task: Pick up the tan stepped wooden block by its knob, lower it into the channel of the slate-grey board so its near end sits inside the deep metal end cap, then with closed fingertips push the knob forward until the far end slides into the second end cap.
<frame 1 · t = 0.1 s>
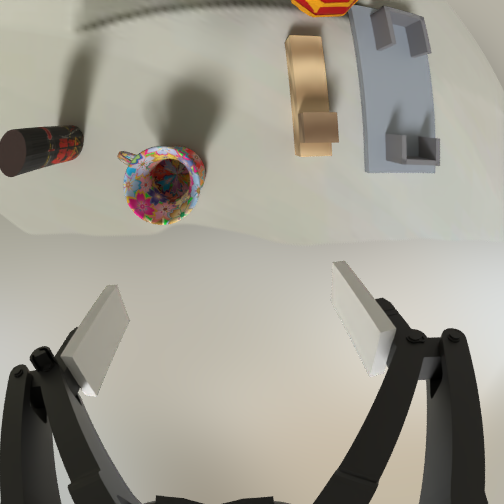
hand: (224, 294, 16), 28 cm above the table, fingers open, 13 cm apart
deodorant: (69, 143, 36), on the table
tan stepped wooden block: (305, 96, 37), on the table
board: (396, 87, 36), on the table
potion bottle: (311, 3, 30), on the table
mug: (170, 169, 40), on the table
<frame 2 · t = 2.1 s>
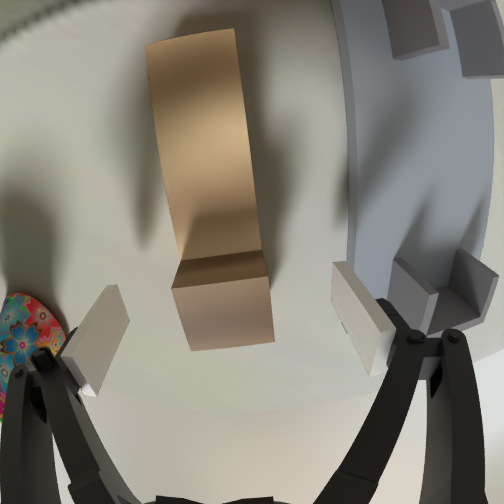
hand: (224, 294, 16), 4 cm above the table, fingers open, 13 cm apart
tan stepped wooden block: (215, 187, 18), on the table
board: (428, 146, 17), on the table
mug: (28, 316, 21), on the table
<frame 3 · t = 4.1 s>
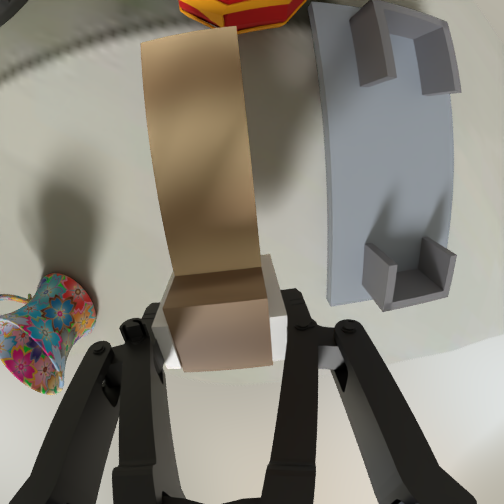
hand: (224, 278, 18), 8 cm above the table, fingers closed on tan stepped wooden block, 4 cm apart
tan stepped wooden block: (214, 197, 17), point 7 cm above the table, touching gripper
board: (393, 153, 23), on the table
potion bottle: (240, 9, 18), on the table
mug: (60, 295, 27), on the table
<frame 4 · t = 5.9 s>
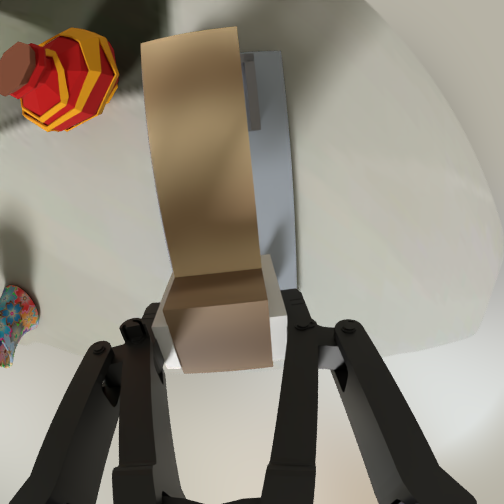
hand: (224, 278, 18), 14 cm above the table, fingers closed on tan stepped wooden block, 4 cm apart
tan stepped wooden block: (214, 198, 17), point 13 cm above the table, touching gripper
board: (224, 190, 30), on the table
potion bottle: (97, 86, 24), on the table
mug: (17, 299, 34), on the table
when the fingers open (2 cm above the table, at t = 8.2 s): tan stepped wooden block stays where it is, resting on board.
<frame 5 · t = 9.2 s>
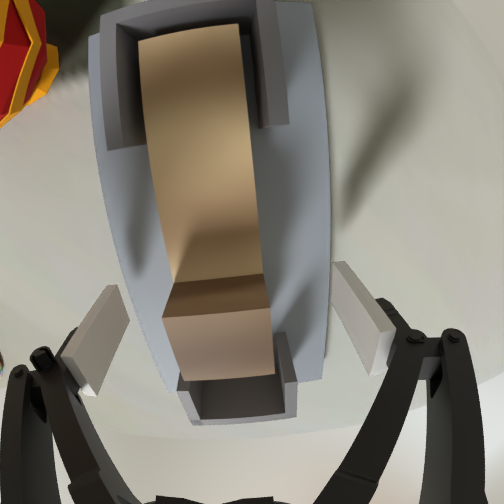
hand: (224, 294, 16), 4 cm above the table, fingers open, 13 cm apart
tan stepped wooden block: (214, 200, 16), point 1 cm above the table, touching board
board: (219, 226, 19), on the table
potion bottle: (35, 71, 13), on the table
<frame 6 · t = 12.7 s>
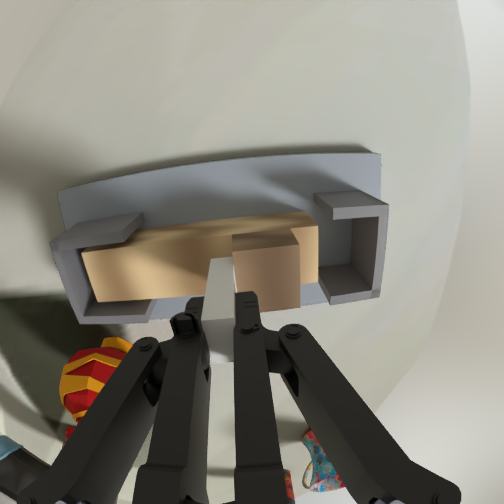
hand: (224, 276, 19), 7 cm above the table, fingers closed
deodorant: (276, 473, 47), on the table
tan stepped wooden block: (200, 247, 24), point 2 cm above the table, touching board
board: (219, 239, 25), on the table
potion bottle: (119, 351, 30), on the table
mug: (320, 434, 40), on the table
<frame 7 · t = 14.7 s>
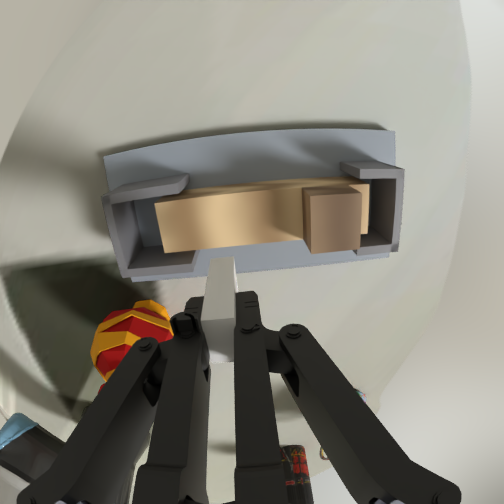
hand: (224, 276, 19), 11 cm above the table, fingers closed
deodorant: (291, 449, 51), on the table
tan stepped wooden block: (262, 204, 27), point 1 cm above the table, touching board
board: (256, 201, 28), on the table
potion bottle: (149, 316, 34), on the table
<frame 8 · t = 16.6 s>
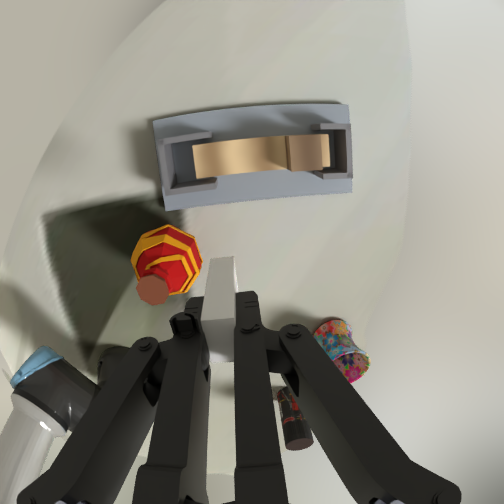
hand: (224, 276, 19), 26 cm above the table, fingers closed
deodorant: (289, 393, 62), on the table
tan stepped wooden block: (260, 152, 39), point 1 cm above the table, touching board
board: (256, 152, 40), on the table
potion bottle: (174, 243, 46), on the table
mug: (326, 337, 56), on the table
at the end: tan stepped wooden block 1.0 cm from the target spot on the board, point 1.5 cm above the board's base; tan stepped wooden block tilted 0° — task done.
